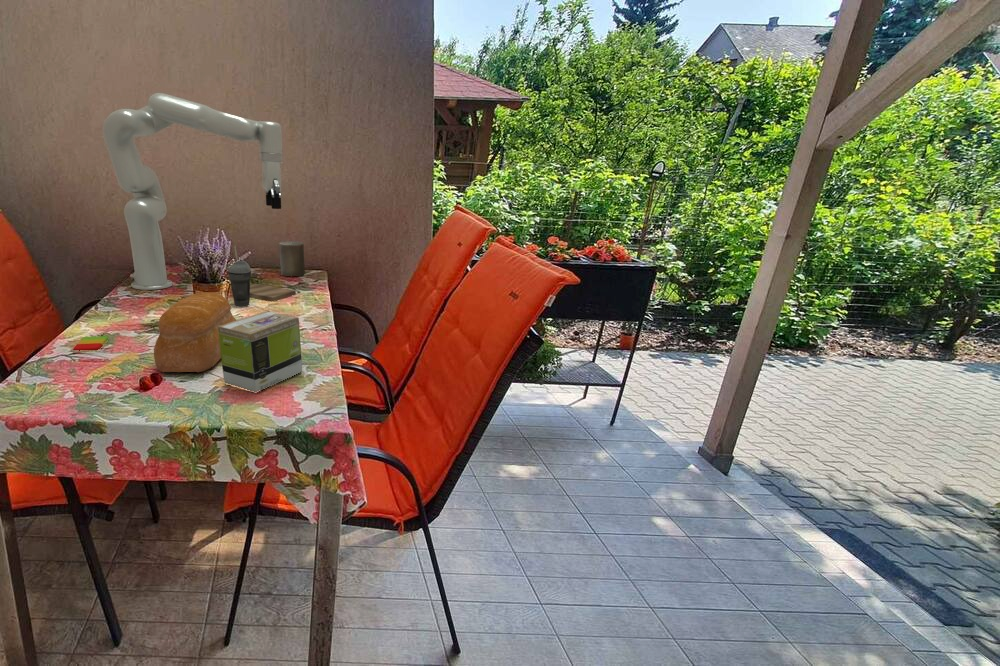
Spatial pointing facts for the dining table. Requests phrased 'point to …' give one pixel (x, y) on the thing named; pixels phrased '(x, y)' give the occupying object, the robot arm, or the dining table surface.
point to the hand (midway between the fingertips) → (273, 207)
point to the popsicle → (91, 343)
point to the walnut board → (269, 292)
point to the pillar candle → (292, 258)
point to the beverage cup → (240, 281)
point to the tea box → (260, 350)
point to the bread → (191, 333)
